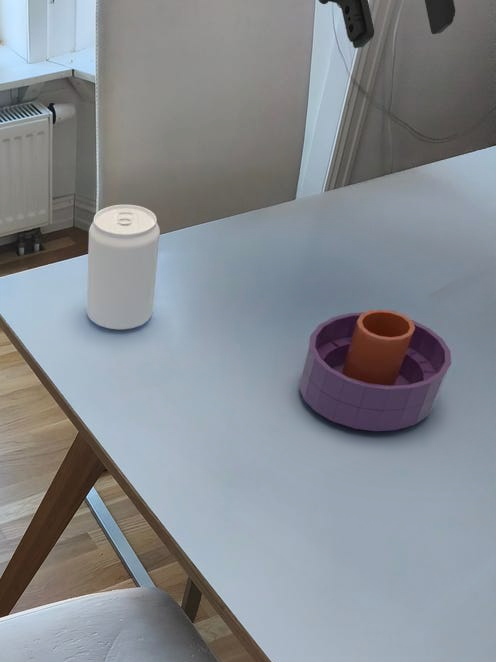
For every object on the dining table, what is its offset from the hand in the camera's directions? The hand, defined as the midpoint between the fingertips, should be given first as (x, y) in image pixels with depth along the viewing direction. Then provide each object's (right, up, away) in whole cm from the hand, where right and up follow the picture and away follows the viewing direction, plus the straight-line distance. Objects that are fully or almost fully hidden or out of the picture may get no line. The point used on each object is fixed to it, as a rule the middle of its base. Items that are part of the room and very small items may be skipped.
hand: (404, 35), depth 81 cm
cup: (+2, -28, +15) cm, 32 cm away
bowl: (+3, -29, +16) cm, 33 cm away
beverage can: (-23, -16, +28) cm, 40 cm away
